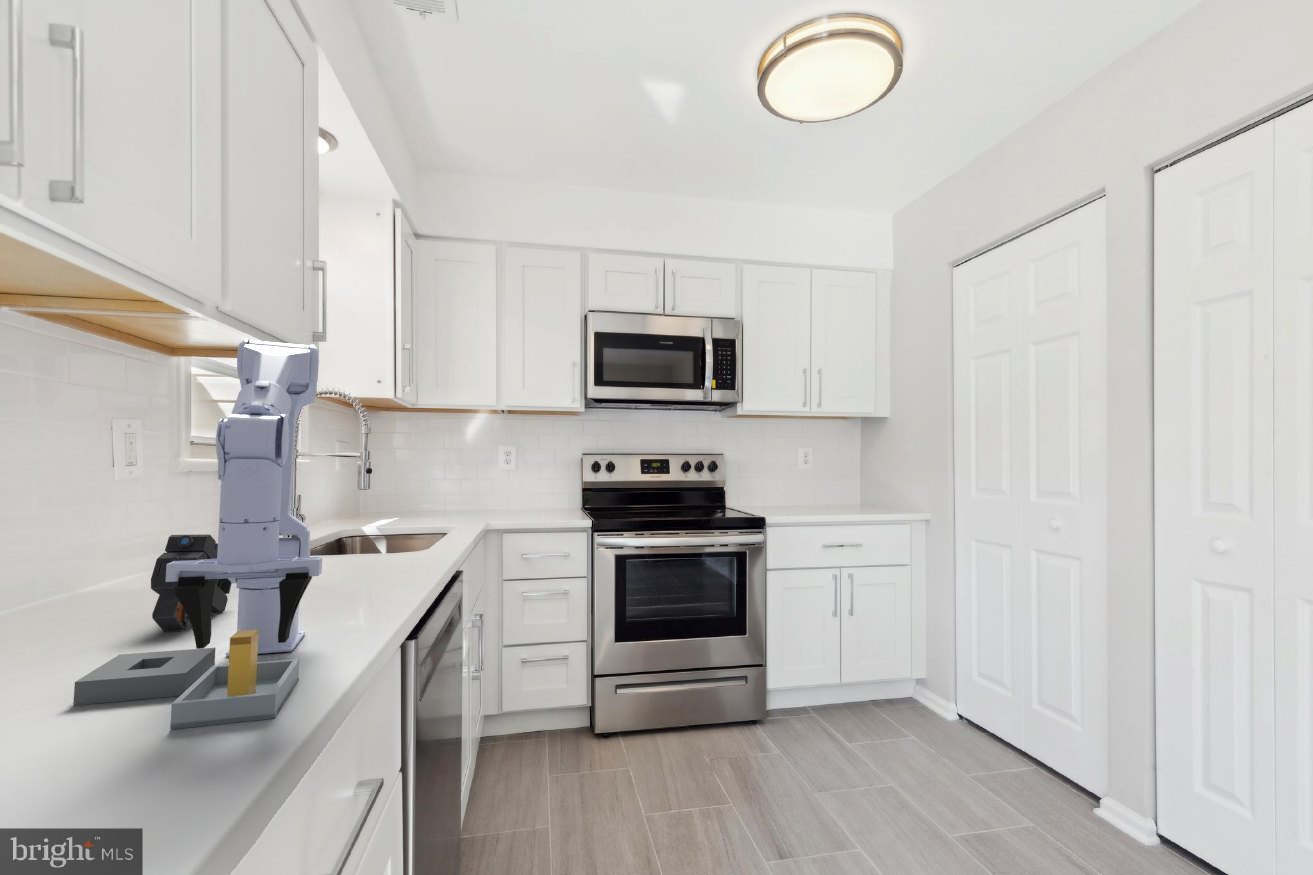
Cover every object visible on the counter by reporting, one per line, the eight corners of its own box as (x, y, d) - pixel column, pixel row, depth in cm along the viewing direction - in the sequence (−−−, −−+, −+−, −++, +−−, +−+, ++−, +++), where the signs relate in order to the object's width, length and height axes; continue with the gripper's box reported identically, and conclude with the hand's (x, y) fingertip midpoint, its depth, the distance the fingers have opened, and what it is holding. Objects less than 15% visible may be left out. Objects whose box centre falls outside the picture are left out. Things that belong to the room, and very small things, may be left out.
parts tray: (211, 687, 72) (212, 665, 72) (298, 679, 75) (299, 658, 75) (170, 729, 61) (171, 703, 61) (274, 718, 64) (275, 693, 64)
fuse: (235, 693, 69) (238, 630, 69) (255, 691, 69) (258, 629, 70) (226, 703, 66) (229, 637, 66) (248, 701, 67) (251, 636, 67)
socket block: (118, 674, 75) (119, 654, 75) (214, 667, 79) (215, 647, 79) (73, 705, 66) (74, 681, 66) (184, 695, 69) (185, 672, 69)
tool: (133, 621, 89) (163, 526, 97) (182, 653, 105) (205, 569, 112) (182, 619, 91) (208, 526, 99) (223, 650, 106) (243, 568, 114)
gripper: (156, 525, 62) (149, 660, 62) (316, 523, 67) (310, 648, 67) (183, 519, 69) (176, 640, 68) (326, 517, 74) (322, 630, 73)
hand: (244, 643), depth 68 cm, fingers open, 7 cm apart
